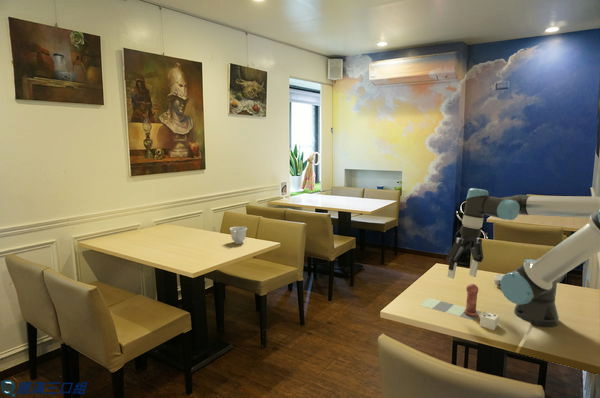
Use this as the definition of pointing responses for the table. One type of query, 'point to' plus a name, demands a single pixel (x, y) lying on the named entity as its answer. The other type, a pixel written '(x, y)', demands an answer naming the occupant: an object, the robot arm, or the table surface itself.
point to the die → (489, 320)
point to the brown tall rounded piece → (471, 300)
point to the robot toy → (498, 279)
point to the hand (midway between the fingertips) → (461, 276)
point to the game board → (447, 308)
